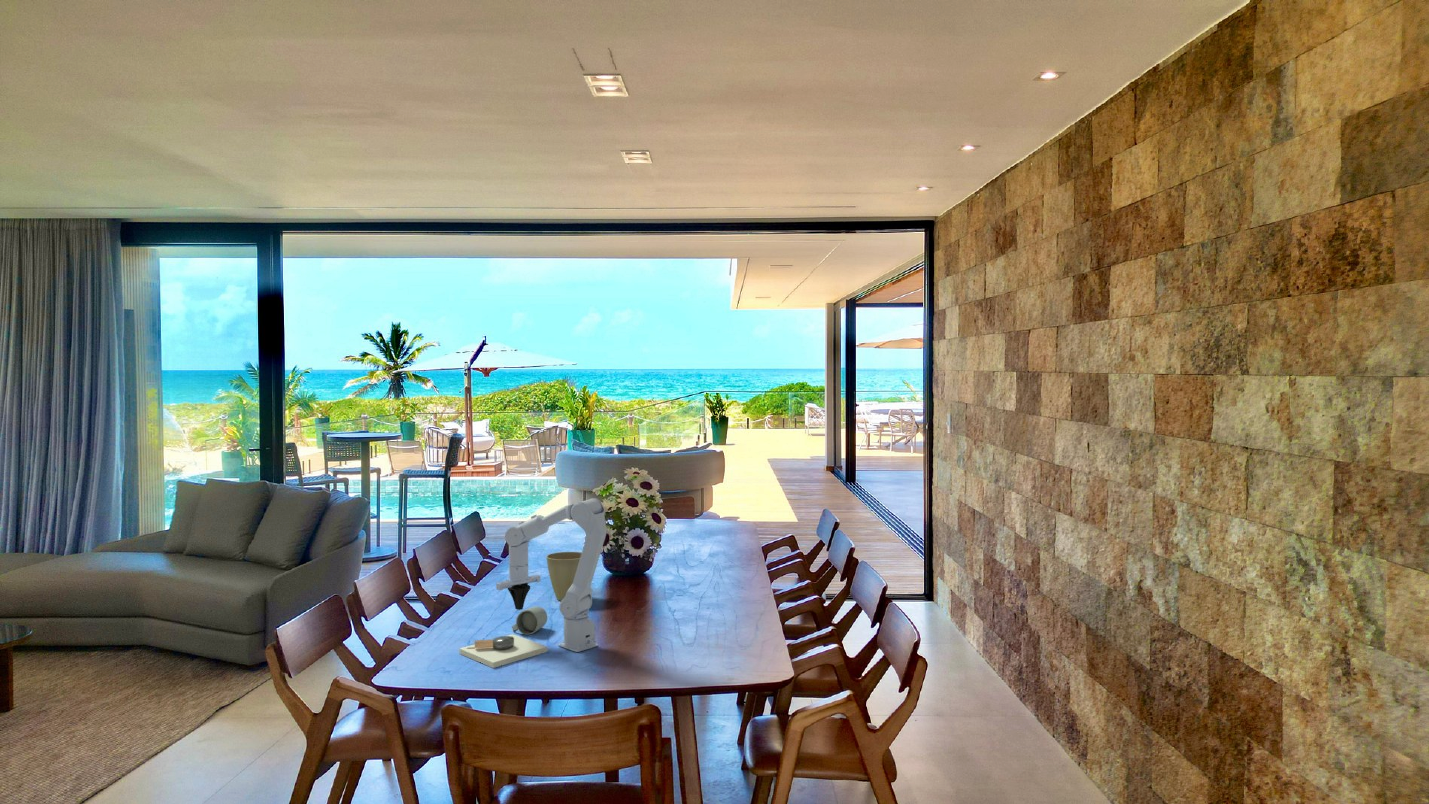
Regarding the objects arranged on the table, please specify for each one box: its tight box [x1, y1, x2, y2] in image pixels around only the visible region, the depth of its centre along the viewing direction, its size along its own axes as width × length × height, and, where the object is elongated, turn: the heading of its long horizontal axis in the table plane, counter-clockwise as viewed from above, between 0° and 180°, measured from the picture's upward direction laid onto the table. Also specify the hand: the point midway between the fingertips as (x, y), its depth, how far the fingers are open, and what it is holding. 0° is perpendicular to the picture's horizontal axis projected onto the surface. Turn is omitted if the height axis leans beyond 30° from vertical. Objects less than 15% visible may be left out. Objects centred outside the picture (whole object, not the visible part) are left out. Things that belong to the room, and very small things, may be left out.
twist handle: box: [474, 635, 514, 650], centre depth 226 cm, size 11×6×2 cm, turn 99°
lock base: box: [458, 633, 548, 669], centre depth 226 cm, size 18×18×2 cm
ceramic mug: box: [511, 606, 548, 636], centre depth 247 cm, size 11×8×8 cm
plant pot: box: [545, 551, 582, 602], centre depth 286 cm, size 15×15×16 cm
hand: (519, 609), depth 238 cm, fingers closed
